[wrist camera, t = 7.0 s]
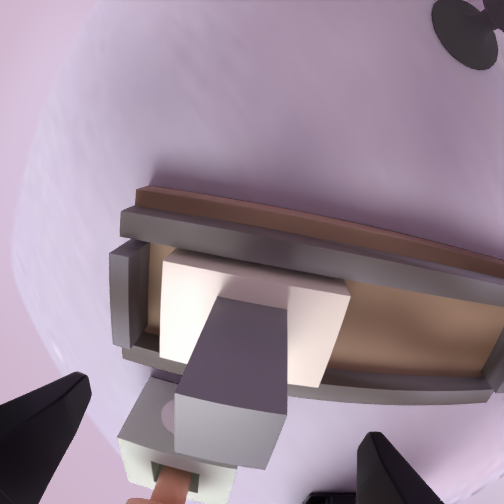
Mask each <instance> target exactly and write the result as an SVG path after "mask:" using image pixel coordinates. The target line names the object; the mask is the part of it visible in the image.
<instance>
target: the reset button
mask: <svg viewBox="0 0 504 504" xmlns="http://www.w3.org/2000/svg"><path fill="white" fill-rule="evenodd" d="M191 480H192V474H191V473H190V472H189V471H185V470H181V469H177V468H173V467H170V466H166V465H164V466H163V467H162V469H161V472H160V474H159V477H158V480H157V482H156V485H155V488H154V491H153V493H152V496H151V499H150V500H148V499H142V498H131V499H128V501H127V502H126V504H185V501H186V498H187V494H188V491H189V487H190V484H191Z"/></svg>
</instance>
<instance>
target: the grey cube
mask: <svg viewBox="0 0 504 504" xmlns="http://www.w3.org/2000/svg"><path fill="white" fill-rule="evenodd" d="M177 386H178V384H175V383H172V382H168V381H164V380H161V379H157V378H154V377H150V378H149V379H148V381H147V383H146V385H145V387H144V388H143V390H142V392H141V394H140V396H139V398H138V399H137V401H136V403H135V405H134V407H133V408H132V410H131V412H130V414H129V416H128V418H127V420H126V421H125V423H124V425H123V427H122V429H121V431H120V432H119V434H118V436H117V440H118V444H119V448H120V452H121V456H122V459H123V463H124V467H125V470H126V474H127V477H128V480H129V482H132V483H135V484H138V485H141V486H144V487H147V488H150V489H153V490H154V488H155V485H156V482H157V480H158V477H159V474H160V472H161V469H162V467H163V466H164V465H166V466H170V467H173V468H177V469H181V470H185V471H189V472H190V473H191V474H192V480H191V484H190V487H189V491H188V494H187V498H186V499H189V500H194V501H198V502H203V503H207V504H227V501H228V498H229V494H230V491H231V488H232V484H233V481H234V478H235V474H236V471H237V466H236V465H231V464H225V463H220V462H215V461H210V460H206V459H201V458H197V457H193V456H189V455H185V454H181V453H177V452H175V450H174V402H175V391H176V389H177Z"/></svg>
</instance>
